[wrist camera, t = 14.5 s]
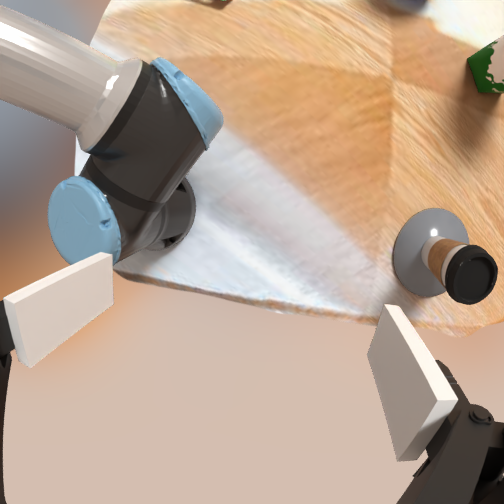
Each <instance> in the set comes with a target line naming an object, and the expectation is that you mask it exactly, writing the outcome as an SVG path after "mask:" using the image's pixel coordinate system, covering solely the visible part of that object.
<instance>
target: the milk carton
mask: <svg viewBox="0 0 504 504" xmlns="http://www.w3.org/2000/svg"><path fill="white" fill-rule="evenodd" d="M467 60H468V63H469V65H470V68H471V71H472V74H473V77H474V79H475V83H476V86H477V89H478V92H485V93H504V35H503V36H501V37H500V38H498V39H497V40H495V41H494V42H492V43H490V44H489V45H487V46H486V47H484V48H483V49H481V50H480V51H478V52H477V53H475V54H474V55H472V56H471V57H469V58H468V59H467Z"/></svg>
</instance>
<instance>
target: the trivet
mask: <svg viewBox="0 0 504 504" xmlns="http://www.w3.org/2000/svg"><path fill="white" fill-rule="evenodd" d="M434 236H440V237H444V238H447V239H451V240H455V241H459V242H463V243H466V244H469V238H468V234H467V231H466V229H465V227H464V225H463V223H462V222H461V220H460V219H459V218H458V217H457V216H456V215H454V214H453V213H451V212H449V211H447V210H444V209H440V208H430V209H425V210H422V211H420V212H418V213H417V214H415V215H414V216H412V217H411V218H410V219H409V220H408V221H407V222H406V223H405V225H404V226H403V227H402V229H401V231H400V232H399V234H398V237H397V239H396V243H395V247H394V256H393V258H394V267H395V271H396V274H397V276H398V278H399V280H400V281H401V283H402V284H403V285H404V286H405V287H406V288H407V289H408V290H409V291H410V292H412V293H414V294H416V295H419V296H426V297H429V296H436V295H439V294H442V293H443V292H445V291H447V290H446V289H445V288H444V287H443V286H442V284H441V283H440V282H439V281H438V279H437V278H436V277H435V276H434V275H433V273H432V272H431V271H430V270H429V269H428V268H427V266H426V265H425V264H424V263H423V260H422V256H421V252H422V248H423V245H424V244H425V242H426V241H427V240H428V239H429V238H431V237H434Z"/></svg>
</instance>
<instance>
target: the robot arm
mask: <svg viewBox="0 0 504 504" xmlns="http://www.w3.org/2000/svg"><path fill="white" fill-rule="evenodd" d="M0 100H3V101H5V102H8V103H10V104H13V105H15V106H17V107H20V108H22V109H24V110H27V111H29V112H31V113H34V114H36V115H38V116H41V117H43V118H46V119H48V120H50V121H52V122H55V123H57V124H59V125H61V126H64V127H66V128H68V129H71V130H73V131H74V132H75V133H76V135H77V138H78V141H79V145H80V148H81V150H83V151H84V152H86V153H89V154H91V155H90V157H89V158H88V160H87V162H86V164H85V166H84V167H83V169H82V171H81V173H80V175H79V176H72V177H69V178H68V179H66V180H64V181H62V182H61V183H60V184H58V185H57V187H56V188H55V189H54V191H53V193H52V195H51V198H50V201H49V205H48V225H49V229H50V231H51V237H52V239H53V242H54V245H55V247H56V248H57V250H58V252H59V253H60V255H61V256H62V257H63V258H64V259H65V261H66V262H68V263H69V264H70V266H68V267H66V268H64V269H62V270H59V271H57V272H55V273H53V274H51V275H49V276H47V277H45V278H42V279H41V280H38V281H36V282H34V283H32V284H30V285H28V286H26V287H24V288H22V289H20V290H17V291H16V292H14V293H11V294H10V295H8V296H6V297H4V298H3V300H2V301H0V504H7V503H6V501H5V496H4V484H3V427H4V426H3V425H4V412H5V402H6V394H7V387H8V380H9V373H10V367H11V361H12V357H11V354H10V351H12V350H13V349H15V350H16V354H17V357H18V360H19V361H20V362H21V363H23V364H24V365H26V366H27V367H29V368H31V367H33V366H34V365H35V364H36V363H37V362H39V361H40V360H41V359H42V358H44V357H45V356H46V355H48V354H49V353H50V352H51V351H53V350H54V349H55V348H57V347H58V346H59V345H60V344H61V343H63V342H64V341H66V340H67V339H68V338H69V337H71V336H72V335H73V334H75V333H76V332H77V331H79V330H80V329H81V328H82V327H84V326H85V325H87V324H88V323H89V322H90V321H92V320H93V319H94V318H96V317H97V316H99V315H100V314H101V313H103V312H104V311H105V310H107V309H108V308H109V307H110V306H112V305H113V304H114V298H113V265H114V264H115V263H117V262H119V261H121V260H123V259H125V258H127V257H128V256H130V255H132V254H134V253H136V252H138V251H140V250H142V249H147V250H162V249H166V248H169V247H171V246H173V245H174V244H176V243H178V242H179V241H181V240H182V239H183V238H184V237H185V236H186V235H187V233H188V232H189V230H190V228H191V226H192V224H193V221H194V218H195V212H196V203H195V197H194V193H193V190H192V188H191V186H190V184H189V182H188V181H187V179H186V178H185V176H186V174H187V173H188V172H189V170H190V169H191V168H192V166H193V165H194V164H195V162H196V161H197V160H198V158H199V157H200V156H201V154H202V153H203V152H204V151H207V150H208V148H209V144H210V143H211V141H212V140H213V139H214V137H215V136H216V135H217V133H218V132H219V130H220V129H221V128H222V125H223V115H222V112H221V110H220V109H219V107H218V106H217V105H216V104H215V102H214V101H213V100H212V99H211V98H210V97H209V96H208V95H207V94H206V93H205V92H204V91H203V90H202V89H201V88H200V87H199V86H198V85H197V84H196V83H195V82H194V81H192V80H191V79H190V78H189V77H188V76H186V75H184V74H183V72H181V71H180V70H179V69H178V68H177V67H176V66H174V65H173V64H172V63H170V62H169V61H167V60H166V59H164V58H160V57H159V58H157V59H155V60H153V61H152V62H151V63H150V65H149V64H147V63H146V62H144V61H143V60H141V59H139V58H133V59H129V60H125V61H121V62H117V61H115V60H113V59H112V58H110V57H108V56H106V55H104V54H103V53H101V52H99V51H97V50H95V49H94V48H92V47H90V46H88V45H86V44H84V43H82V42H80V41H78V40H77V39H74V38H73V37H71V36H69V35H67V34H65V33H63V32H61V31H59V30H57V29H54V28H52V27H50V26H48V25H46V24H44V23H41V22H40V21H37V20H35V19H33V18H30V17H28V16H26V15H24V14H21V13H19V12H17V11H14V10H12V9H9V8H7V7H4V6H2V5H0ZM367 356H368V360H369V363H370V366H371V369H372V372H373V375H374V379H375V382H376V385H377V388H378V392H379V395H380V399H381V402H382V406H383V409H384V412H385V416H386V420H387V424H388V427H389V431H390V435H391V439H392V443H393V447H394V451H395V455H396V459H397V461H411V460H417V459H418V458H419V456H420V455H421V454H422V453H423V451H424V450H425V449H426V451H427V454H428V458H427V459H426V461H425V462H424V463H423V464H422V466H421V467H420V468H419V469H418V471H417V472H416V473H415V474H414V475H413V477H414V479H413V481H412V482H411V484H410V485H409V487H408V488H407V490H406V491H405V492H404V494H403V495H402V497H401V498H400V499H399V501H398V502H397V504H504V476H503V473H504V423H501V422H495V421H494V418H493V416H492V415H491V413H489V411H488V410H487V409H485V408H483V407H482V406H479V405H476V404H475V405H474V404H470V403H469V401H468V399H467V398H466V396H465V394H464V393H463V391H462V389H461V388H460V386H459V385H458V384H457V381H456V380H455V379H454V377H453V375H452V374H451V372H450V370H449V369H448V367H446V366H445V365H444V364H443V363H442V362H440V361H439V360H434V358H433V357H432V355H431V354H430V352H429V350H428V349H427V347H426V346H425V344H424V342H423V341H422V340H421V338H420V336H419V335H418V333H417V332H416V330H415V329H414V327H413V326H412V324H411V323H410V321H409V320H408V319H407V317H406V316H405V314H404V313H403V311H402V310H401V308H400V307H399V306H396V305H389V304H384V306H383V309H382V312H381V315H380V318H379V322H378V325H377V328H376V331H375V334H374V337H373V339H372V342H371V345H370V348H369V351H368V353H367Z"/></svg>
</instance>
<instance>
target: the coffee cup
mask: <svg viewBox="0 0 504 504" xmlns="http://www.w3.org/2000/svg"><path fill="white" fill-rule="evenodd" d="M421 256H422V260H423V263H424V264H425V265H426V266H427V268H428V269H429V270H430V271H431V272H432V273H433V275H434V276H435V277H436V278H437V279H438V281H439V282H440V283H441V284H442V286H443V287H444V288H445V289H446V290H447V292H448V294H449V296H450V297H451V298H452V299H453V300H455V301H456V302H459V303H463V304H466V305H471V304H475V303H478V302H480V301H481V300H483V299H484V298H486V297H487V296H488V295H489V294H490V293H491V291H492V290H493V288H494V286H495V283H496V280H497V274H498V267H497V265H496V262H495V261H494V259H493V258H492V257H491V256H490V255H489V254H488V253H487V251H486V250H484V249H483V248H481V247H480V246H477V245H470V244H466V243H463V242H459V241H455V240H451V239H447V238H444V237H440V236H434V237H431V238H429V239H428V240H427V241H426V242H425V244H424V245H423V248H422V252H421Z"/></svg>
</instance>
